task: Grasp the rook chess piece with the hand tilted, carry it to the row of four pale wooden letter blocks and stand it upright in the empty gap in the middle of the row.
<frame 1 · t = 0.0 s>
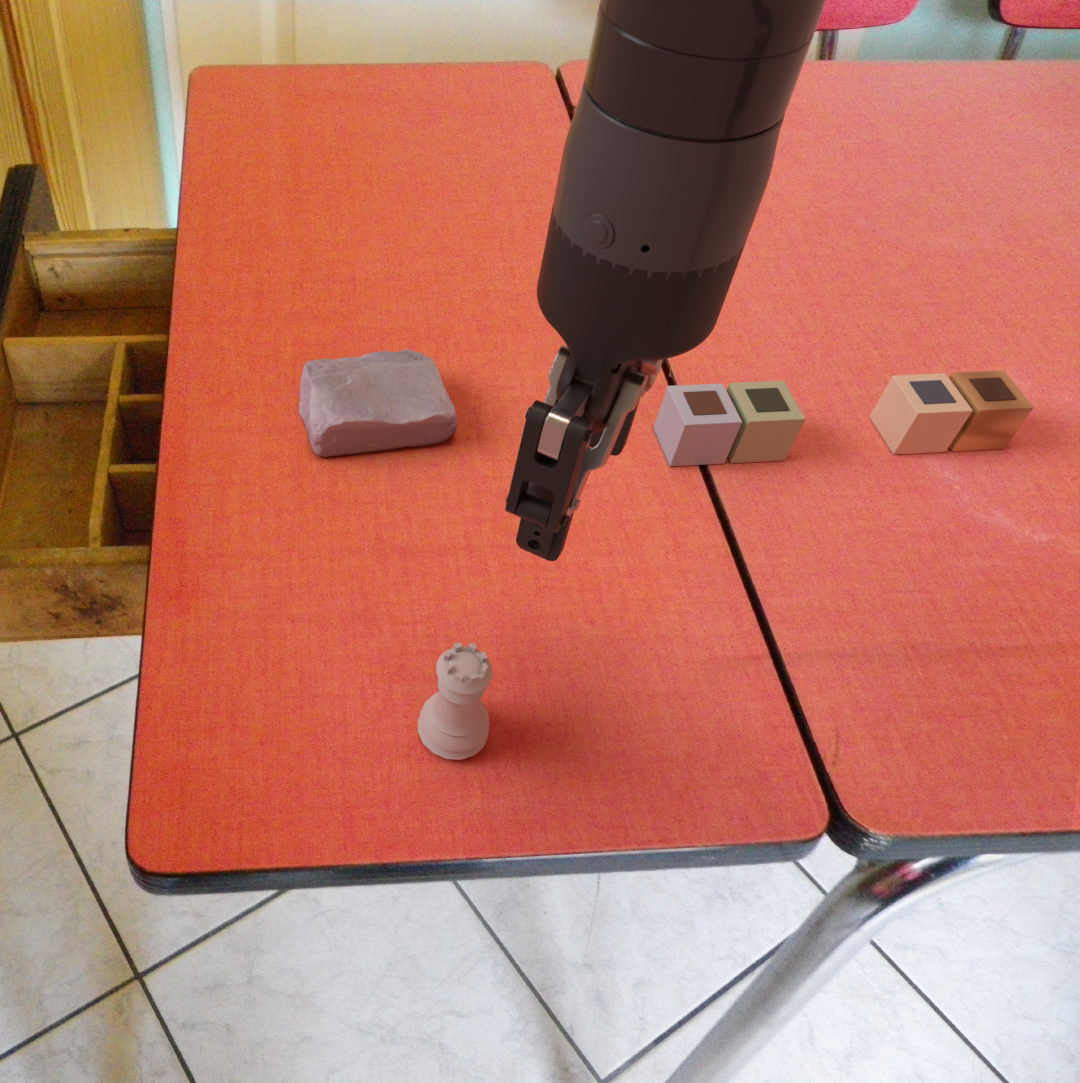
hand: (571, 495, 51), 18 cm above the table, tool pointing down, fingers open, 8 cm apart
stone block: (372, 414, 81), on the table
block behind: (906, 434, 81), on the table
block 2: (964, 431, 82), on the table
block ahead: (748, 442, 80), on the table
block 1: (688, 445, 80), on the table
rook chess piece: (452, 733, 62), on the table
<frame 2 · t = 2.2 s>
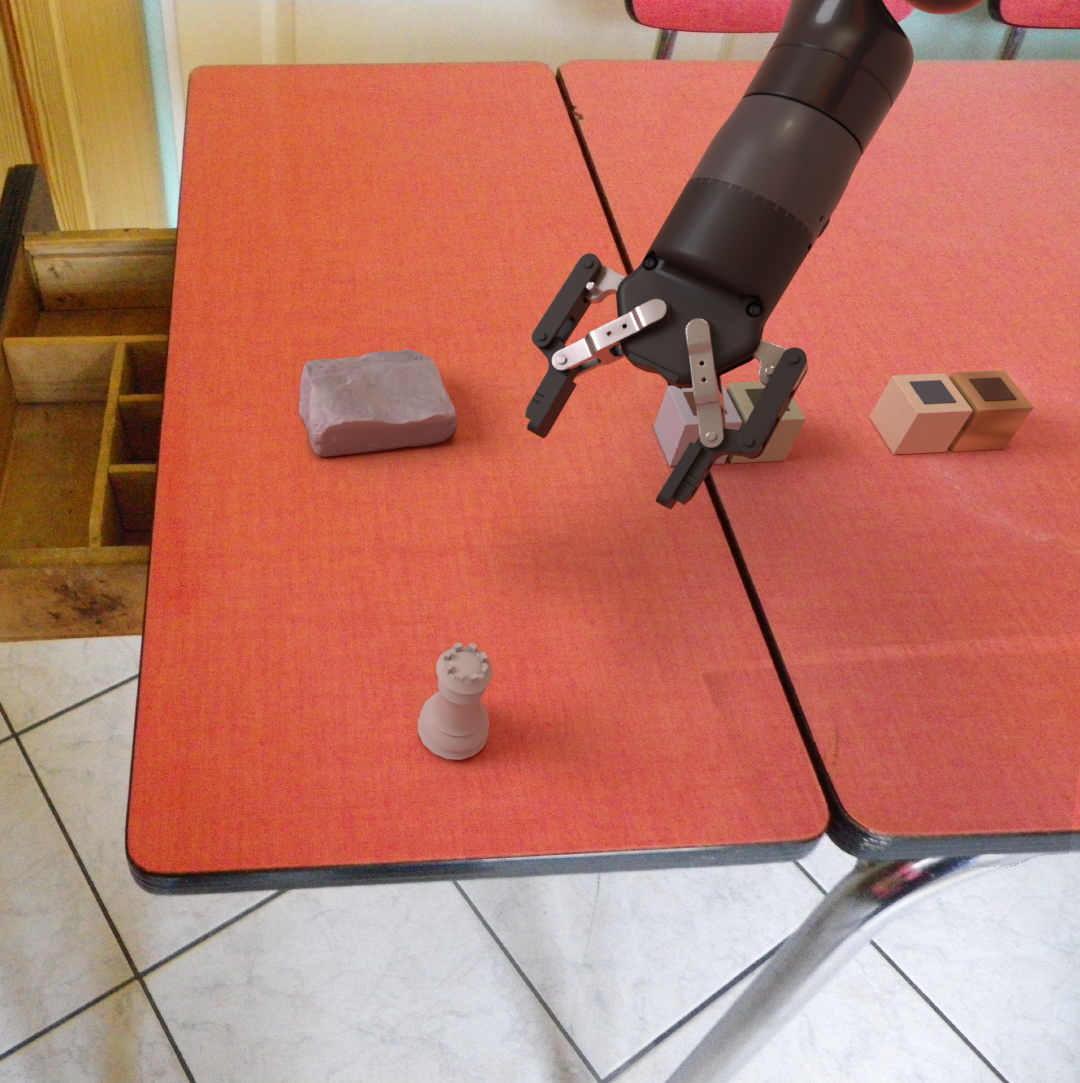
hand: (597, 469, 57), 15 cm above the table, tool tilted 45°, fingers open, 8 cm apart
nothing on the table moved.
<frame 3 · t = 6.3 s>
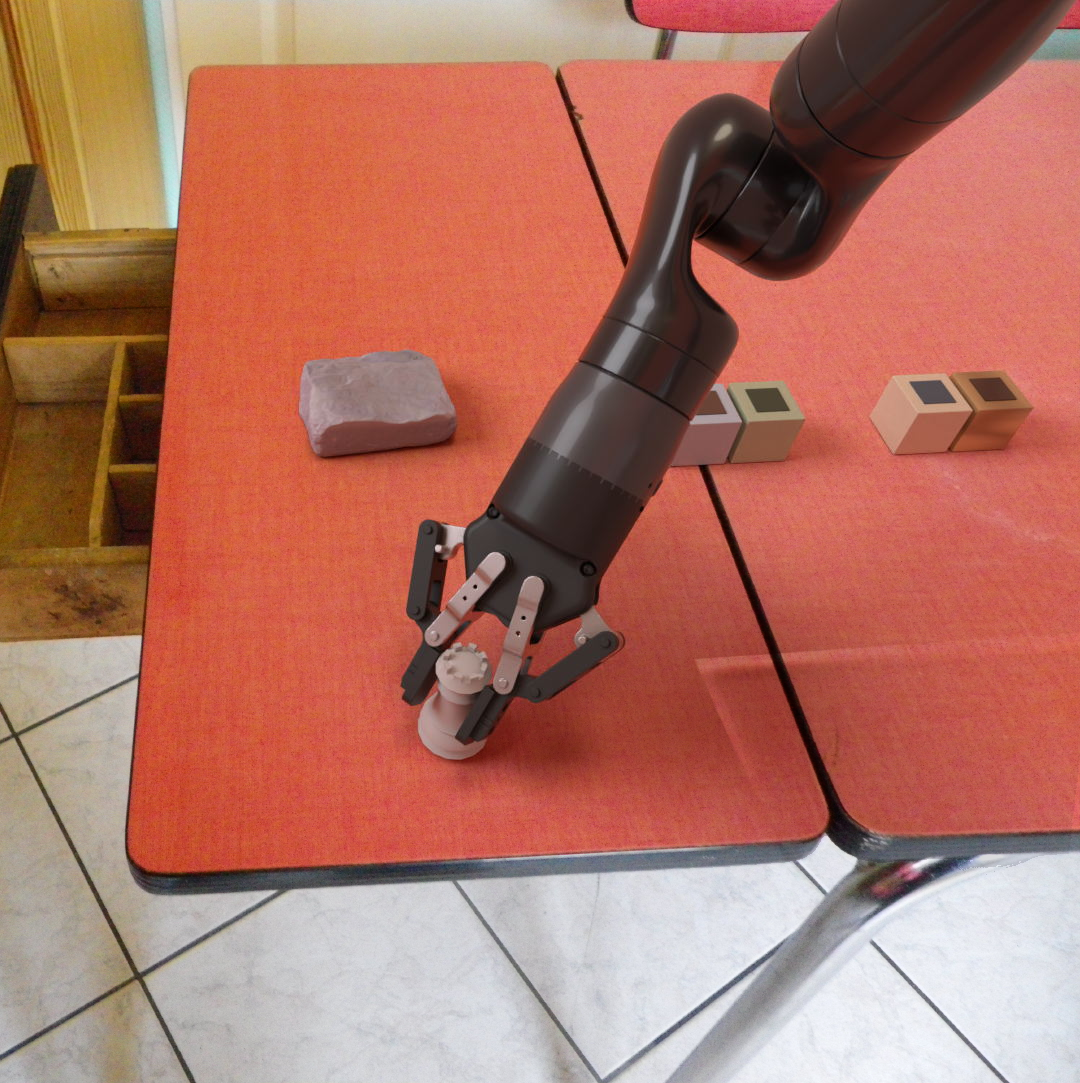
hand: (438, 720, 58), 4 cm above the table, tool tilted 45°, fingers closed on rook chess piece, 3 cm apart
rook chess piece: (452, 733, 62), on the table, touching gripper
everything else where it was.
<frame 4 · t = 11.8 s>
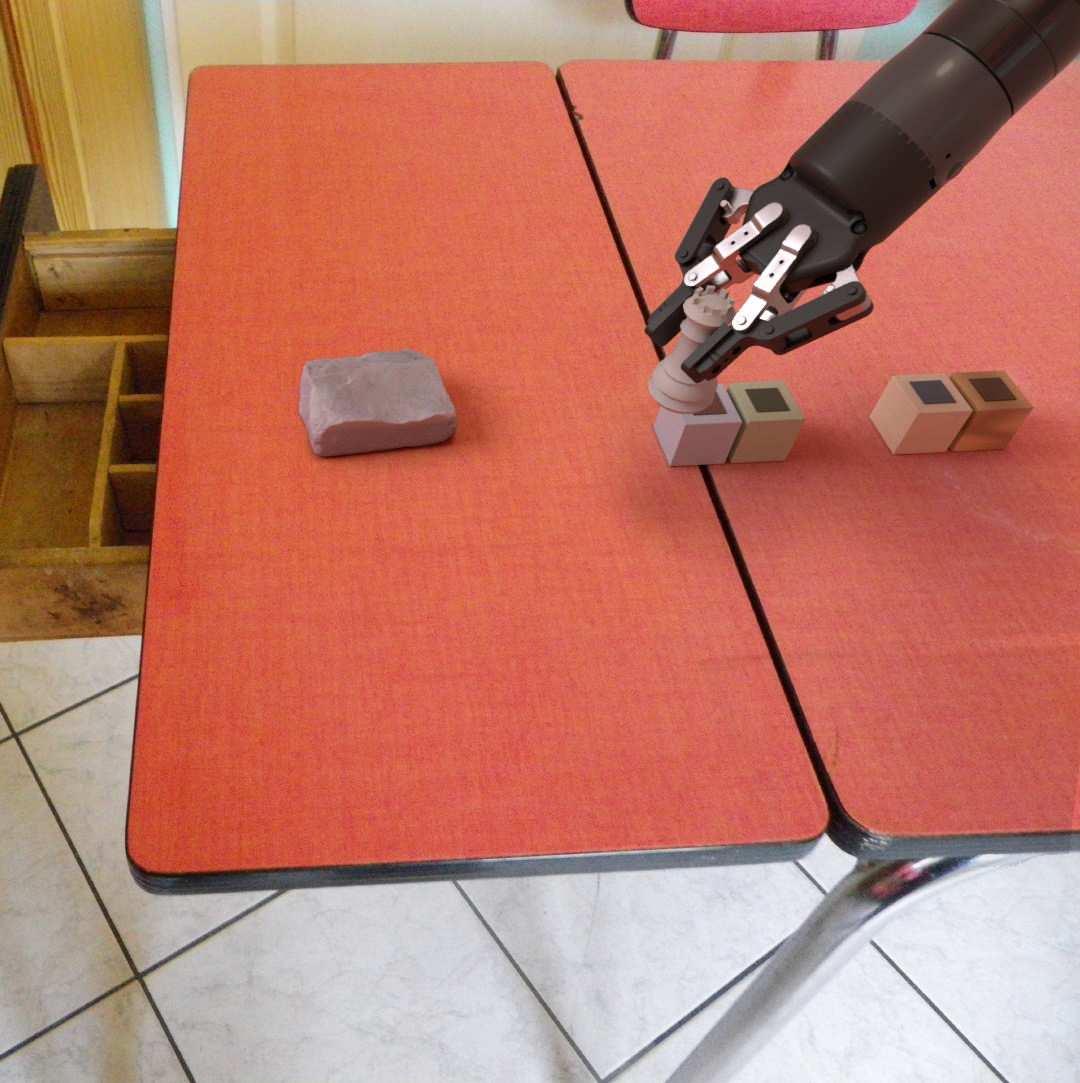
hand: (671, 356, 64), 15 cm above the table, tool tilted 45°, fingers closed on rook chess piece, 3 cm apart
rook chess piece: (678, 397, 68), point 10 cm above the table, touching gripper
everything else where it was.
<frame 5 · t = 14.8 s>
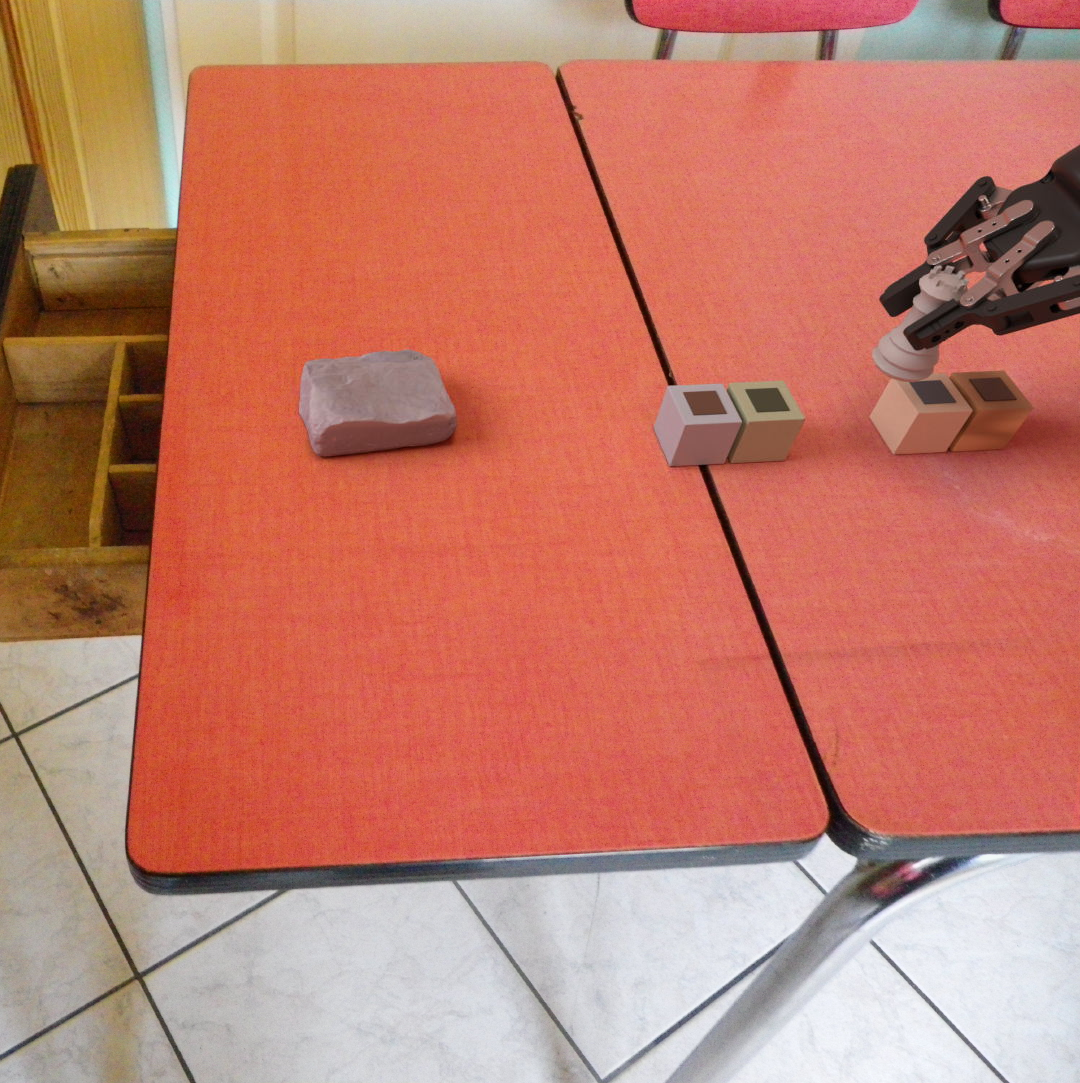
hand: (897, 324, 72), 11 cm above the table, tool tilted 45°, fingers closed on rook chess piece, 3 cm apart
rook chess piece: (899, 367, 75), point 7 cm above the table, touching gripper
everything else where it was.
when the fingers open (4 cm above the table, at t = 17.2 s): rook chess piece stays where it is, on the table.
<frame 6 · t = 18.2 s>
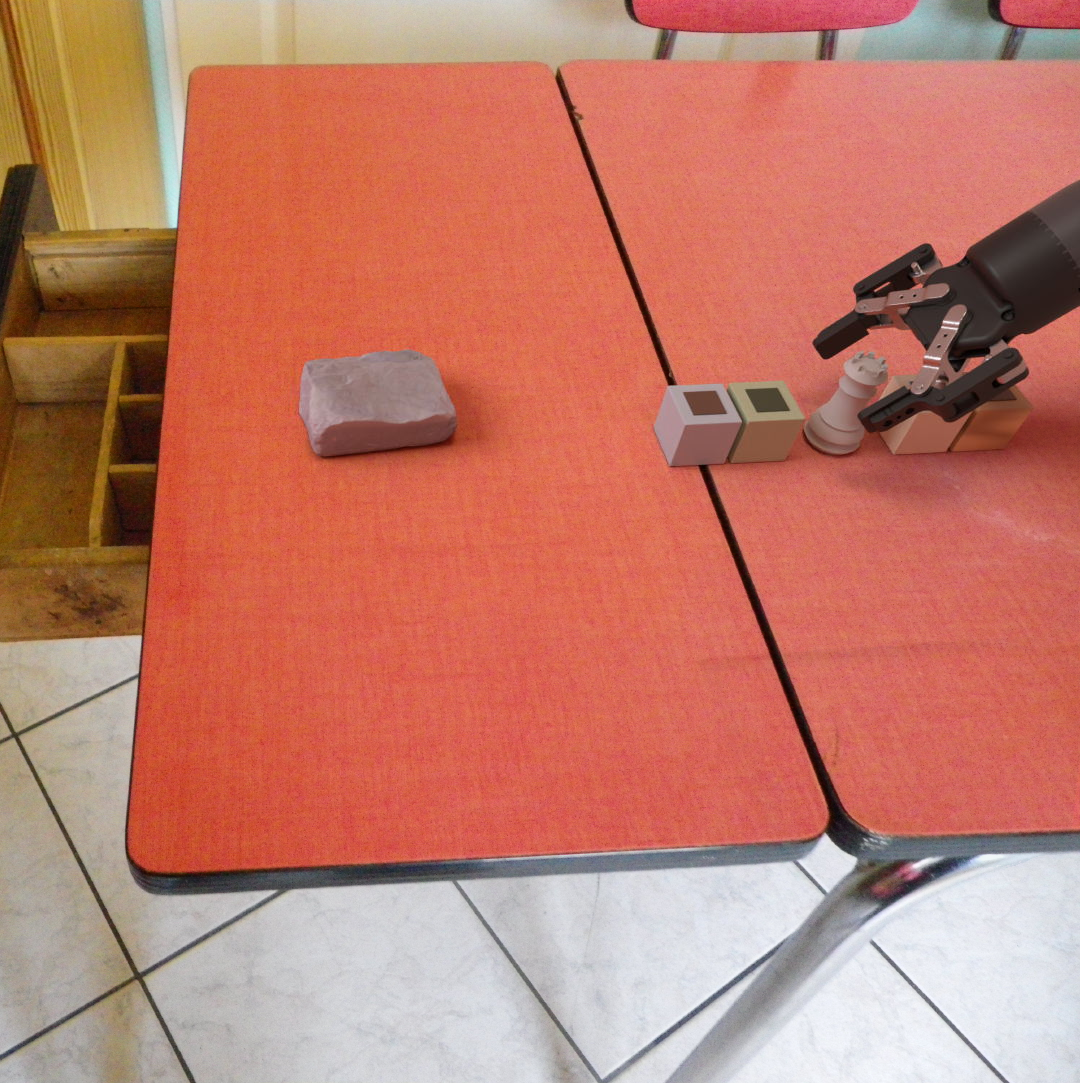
hand: (839, 387, 76), 6 cm above the table, tool tilted 45°, fingers open, 8 cm apart
rook chess piece: (829, 440, 81), on the table
everything else where it was.
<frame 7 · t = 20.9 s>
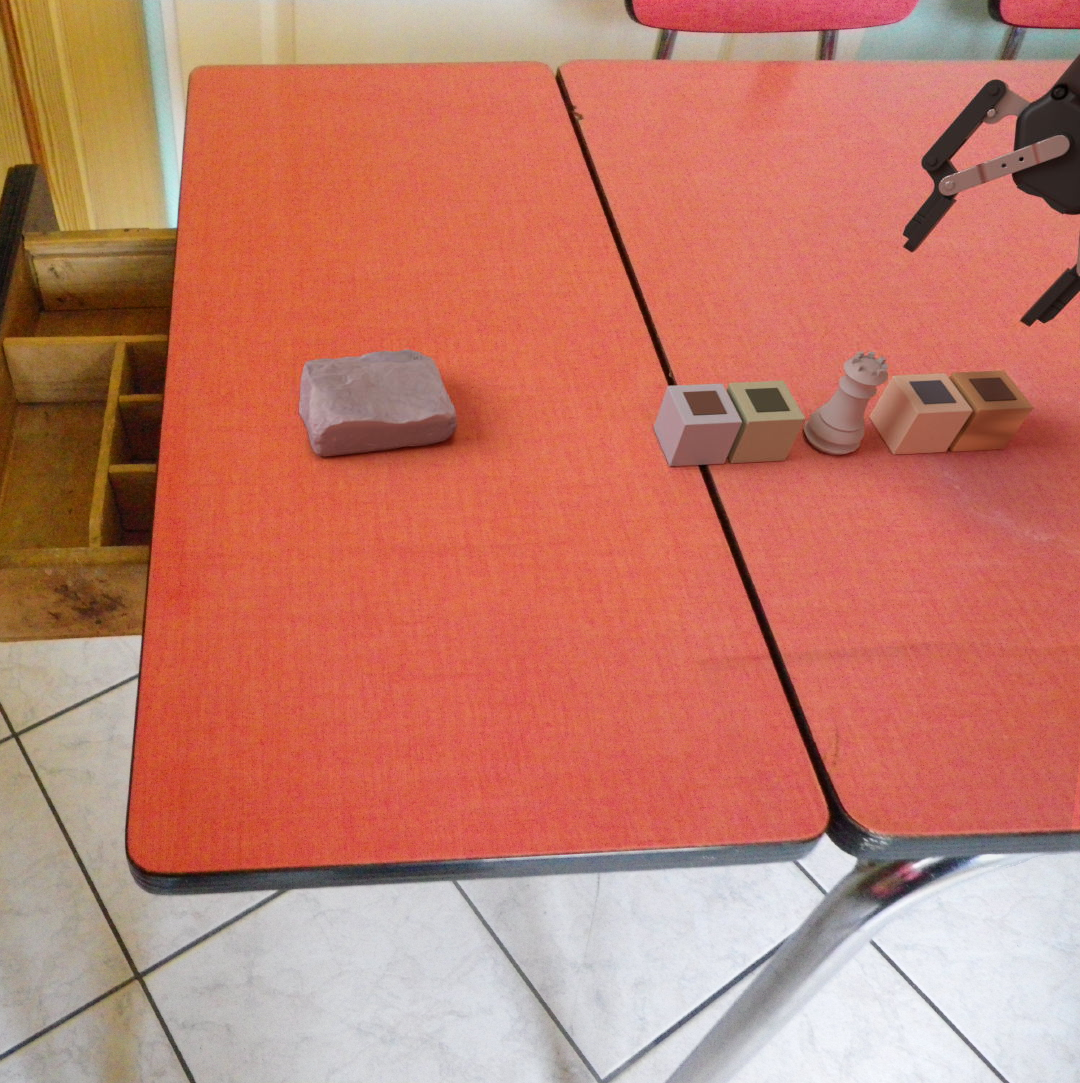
hand: (966, 285, 65), 17 cm above the table, tool tilted 25°, fingers open, 8 cm apart
nothing on the table moved.
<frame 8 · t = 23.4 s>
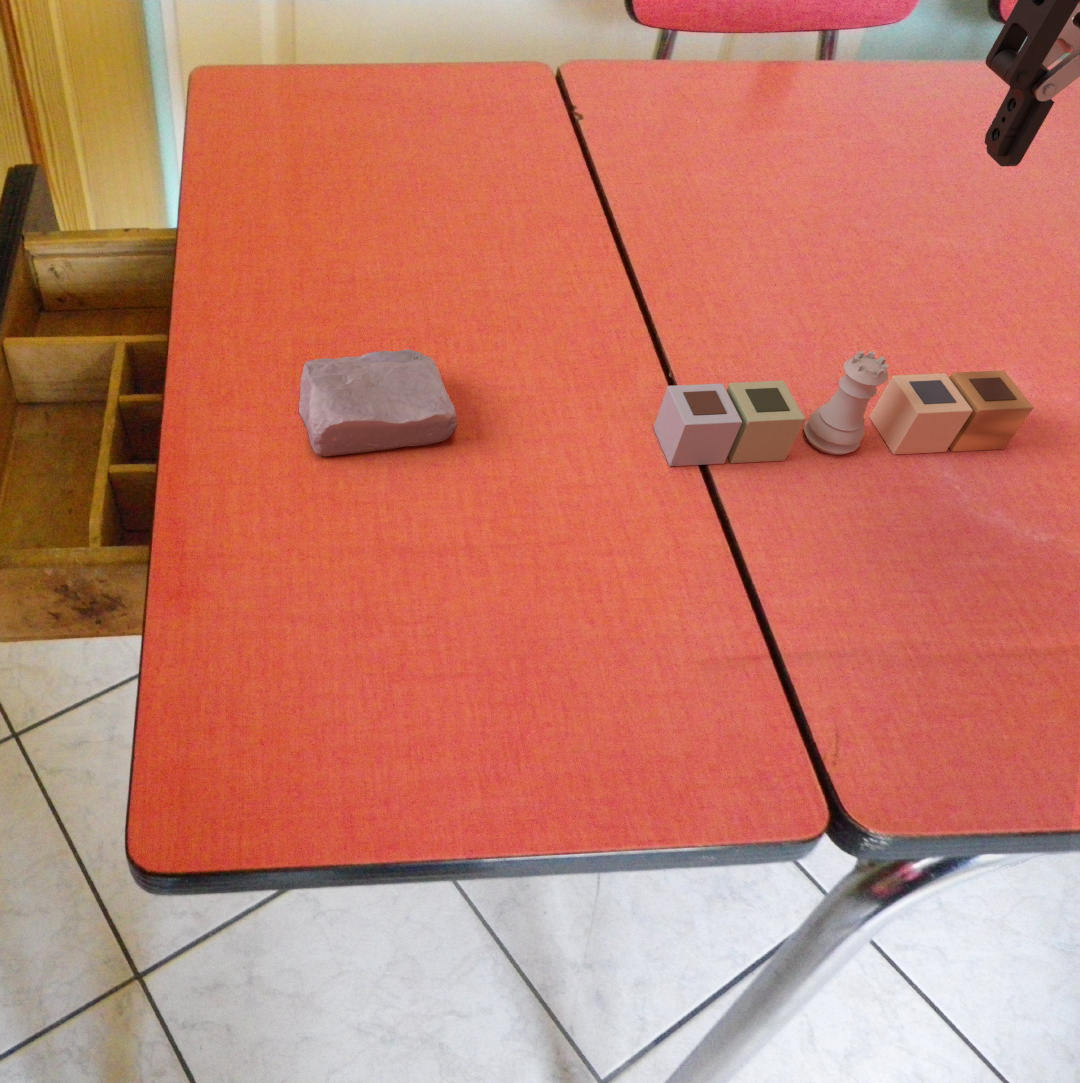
hand: (1072, 157, 55), 28 cm above the table, tool pointing down, fingers open, 8 cm apart
nothing on the table moved.
at the end: rook chess piece 0.2 cm from the target spot on the table beside the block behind, on the table; rook chess piece tilted 0°; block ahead 5.0 cm from the block 1 (horizontally) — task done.
